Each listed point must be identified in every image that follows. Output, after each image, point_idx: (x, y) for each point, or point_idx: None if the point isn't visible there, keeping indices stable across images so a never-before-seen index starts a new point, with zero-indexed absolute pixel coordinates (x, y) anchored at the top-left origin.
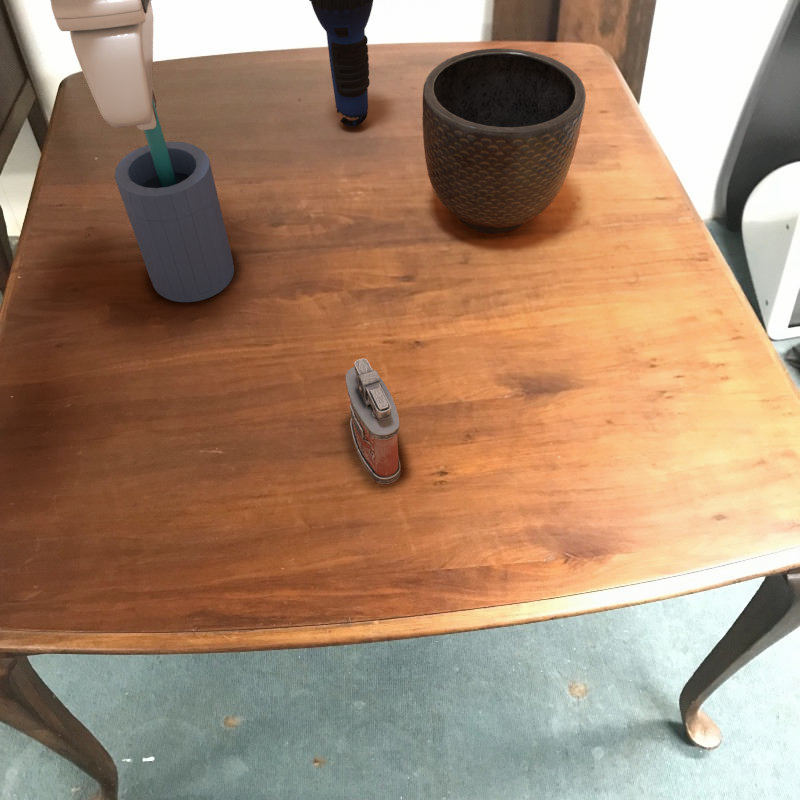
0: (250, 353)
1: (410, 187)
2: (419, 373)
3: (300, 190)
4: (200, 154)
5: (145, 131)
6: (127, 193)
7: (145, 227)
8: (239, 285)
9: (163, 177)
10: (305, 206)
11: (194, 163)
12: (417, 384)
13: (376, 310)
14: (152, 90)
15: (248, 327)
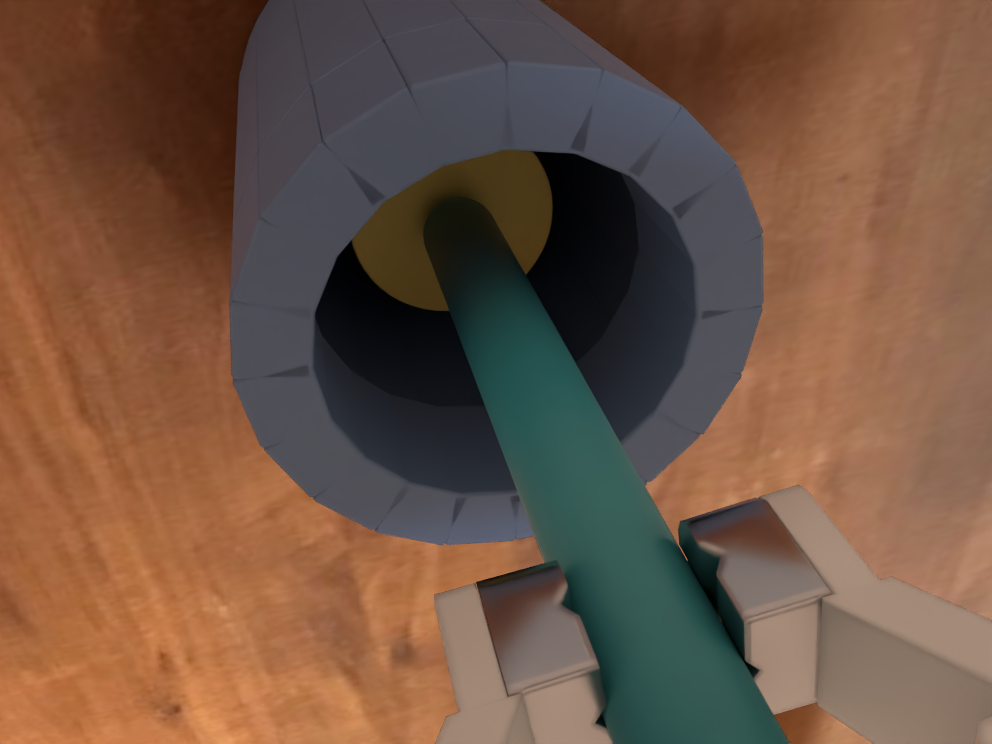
0: (33, 374)
1: None
2: (70, 730)
3: (801, 357)
4: None
5: (546, 497)
6: (265, 201)
7: (243, 170)
8: None
9: (461, 334)
10: None
11: None
12: (32, 733)
13: (278, 620)
14: (800, 705)
15: (151, 344)
